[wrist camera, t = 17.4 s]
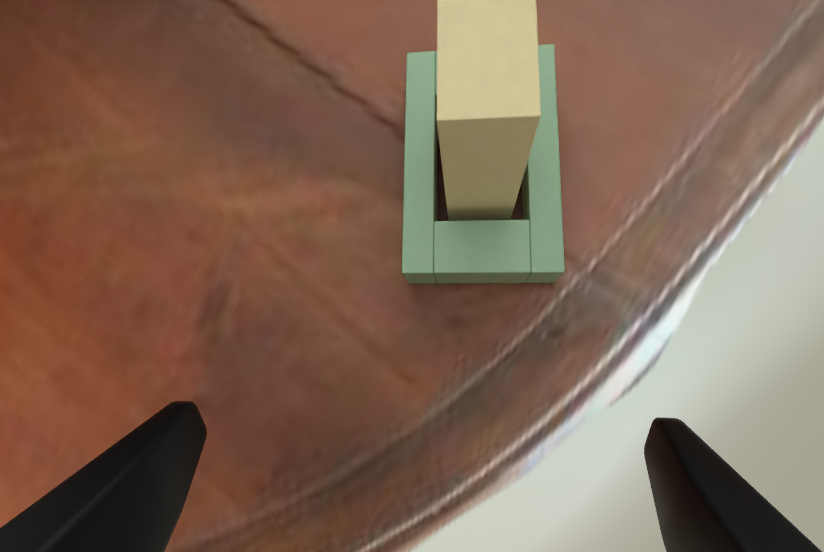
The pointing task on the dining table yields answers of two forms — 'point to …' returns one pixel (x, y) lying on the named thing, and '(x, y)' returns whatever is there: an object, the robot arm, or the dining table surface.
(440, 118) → the beige rectangular block
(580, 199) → the dining table surface
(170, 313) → the dining table surface
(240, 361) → the dining table surface
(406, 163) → the base
